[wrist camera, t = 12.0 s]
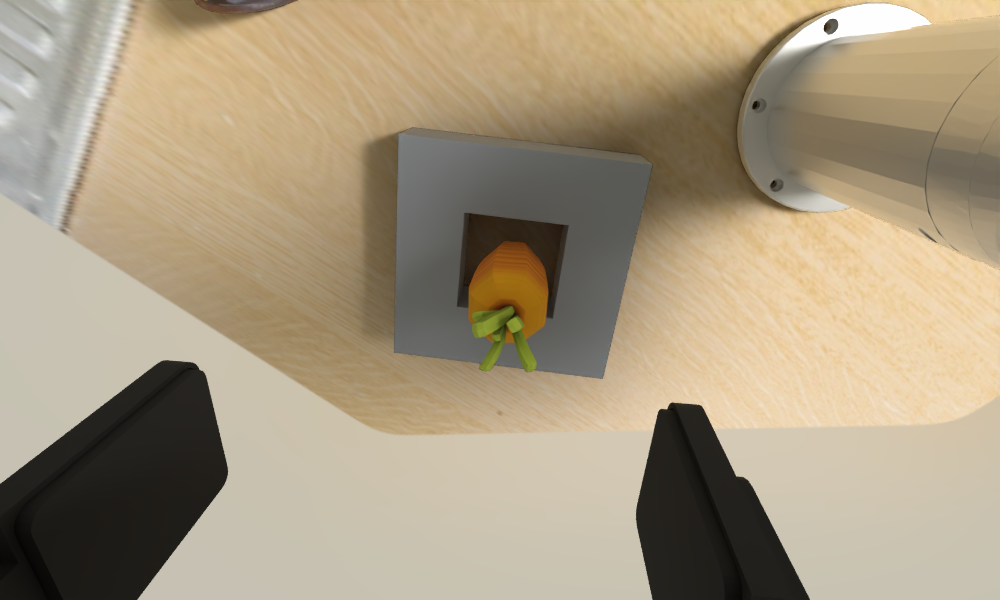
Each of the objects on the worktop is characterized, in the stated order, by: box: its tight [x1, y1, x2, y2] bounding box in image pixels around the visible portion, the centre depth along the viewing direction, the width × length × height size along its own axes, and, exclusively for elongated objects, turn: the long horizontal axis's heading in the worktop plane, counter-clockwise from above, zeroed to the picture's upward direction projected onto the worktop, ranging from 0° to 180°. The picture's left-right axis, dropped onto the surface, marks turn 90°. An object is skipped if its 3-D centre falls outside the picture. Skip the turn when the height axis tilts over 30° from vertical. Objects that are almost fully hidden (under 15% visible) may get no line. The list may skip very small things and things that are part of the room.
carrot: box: [468, 241, 548, 372], centre depth 31 cm, size 5×5×15 cm
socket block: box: [394, 128, 653, 379], centre depth 36 cm, size 16×16×4 cm
